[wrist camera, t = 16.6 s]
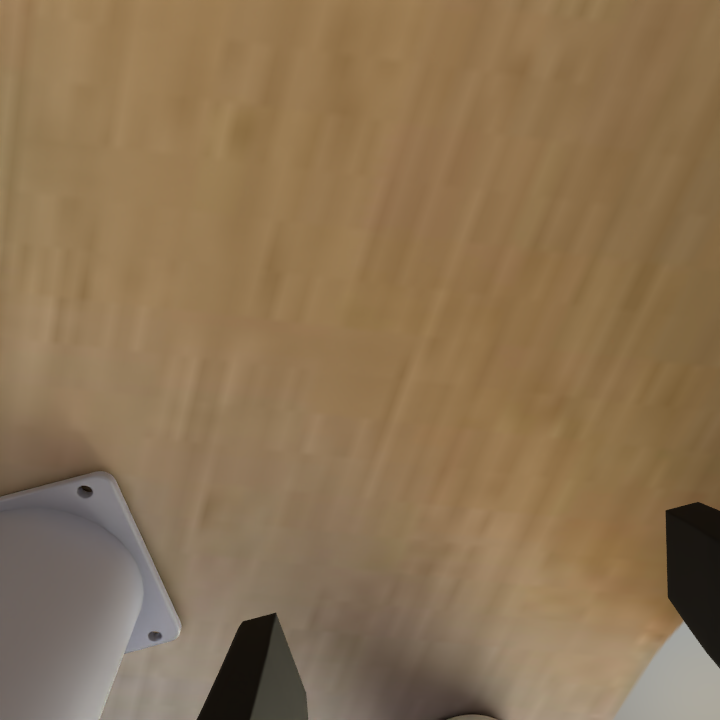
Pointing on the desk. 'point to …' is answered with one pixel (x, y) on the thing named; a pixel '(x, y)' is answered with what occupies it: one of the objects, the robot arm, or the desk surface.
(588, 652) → the desk surface
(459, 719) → the pill bottle
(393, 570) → the desk surface
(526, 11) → the desk surface
